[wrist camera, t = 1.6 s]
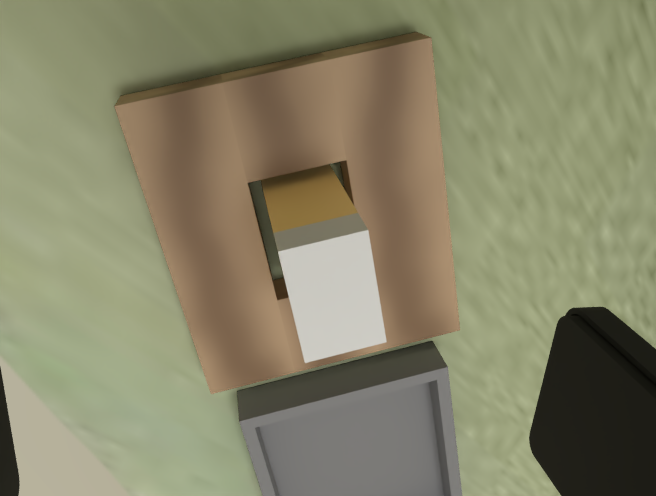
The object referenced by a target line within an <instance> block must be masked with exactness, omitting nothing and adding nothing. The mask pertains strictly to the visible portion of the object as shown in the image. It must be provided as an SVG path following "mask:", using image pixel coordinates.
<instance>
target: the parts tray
mask: <svg viewBox="0 0 656 496" xmlns="http://www.w3.org/2000/svg"><path fill="white" fill-rule="evenodd" d="M237 397H238V411H239V422H240V425H241V428H242V432H243V435H244V438H245V441H246V444H247V447H248V451H249V454H250V457H251V460H252V463H253V466H254V469H255V473H256V476H257V479H258V482H259V485H260V488H261V491H262V495H263V496H462V490H461V481H460V472H459V463H458V454H457V445H456V436H455V428H454V419H453V410H452V401H451V392H450V383H449V374H448V367H447V365H446V363H445V362H444V360H443V358H442V356H441V355H440V353H439V351H438V350H437V348H436V346H435V344H434V343H433V341H431V342H427V343H423V344H419V345H415V346H411V347H407V348H403V349H400V350H396V351H392V352H388V353H384V354H380V355H376V356H372V357H369V358H365V359H361V360H357V361H353V362H349V363H345V364H341V365H337V366H334V367H330V368H326V369H322V370H318V371H314V372H310V373H306V374H302V375H299V376H295V377H291V378H287V379H283V380H279V381H275V382H271V383H268V384H264V385H260V386H256V387H252V388H248V389H244V390H240V391H237Z"/></svg>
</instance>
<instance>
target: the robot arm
mask: <svg viewBox="0 0 656 496" xmlns="http://www.w3.org/2000/svg"><path fill="white" fill-rule="evenodd" d="M529 441H530V447H531V450H532V453H533V455H534V457H535V458H536V460H537V461H538V462H539V464H540V465H541V467H542V468H543V470H544V471H545V473H546V474H547V476H548V477H549V478H550V480H551V481H552V483H553V484H554V486H555V487H556V489H557V490H558V491H559V493H560V494H561V496H656V349H655V348H654V347H652V346H651V345H650V344H649V343H648V342H646V341H645V340H644V339H643V338H642V337H641V336H639V335H638V334H637V333H636V332H635V331H633V330H632V329H631V328H630V327H629V326H627V325H626V324H625V323H624V322H623V321H621V320H620V319H619V318H618V317H617V316H615V315H614V314H613V313H612V312H611V311H609V310H608V309H606V308H604V307H584V308H572V309H570V310H569V311H568V312H567V313H566V315H565V316H563V317H561V318H560V319H559V321H558V323H557V327H556V331H555V335H554V339H553V343H552V347H551V351H550V355H549V359H548V363H547V367H546V371H545V375H544V379H543V383H542V387H541V391H540V395H539V399H538V403H537V407H536V411H535V415H534V419H533V423H532V427H531V431H530V436H529ZM18 494H19V474H18V468H17V462H16V456H15V450H14V444H13V438H12V432H11V427H10V421H9V415H8V409H7V403H6V397H5V392H4V386H3V380H2V374H1V368H0V496H18Z"/></svg>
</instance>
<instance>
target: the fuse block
mask: <svg viewBox="0 0 656 496" xmlns="http://www.w3.org/2000/svg"><path fill="white" fill-rule="evenodd" d="M261 184H262V188H263V192H264V197H265V201H266V205H267V209H268V213H269V217H270V221H271V226H272V230H273V234H274V238H275V242H276V246H277V250H278V255H279V259H280V263H281V267H282V271H283V275H284V279H285V283H286V287H287V292H288V296H289V300H290V304H291V308H292V312H293V316H294V320H295V325H296V329H297V333H298V337H299V341H300V345H301V349H302V353H303V357H304V362H305V363H308V362H311V361H315V360H319V359H323V358H327V357H331V356H335V355H339V354H343V353H346V352H350V351H354V350H358V349H362V348H366V347H370V346H374V345H378V344H382V343H385V342H387V341H386V335H385V329H384V323H383V317H382V311H381V304H380V298H379V292H378V286H377V280H376V274H375V268H374V262H373V256H372V250H371V244H370V238H369V231H368V229H367V227H366V225H365V224H364V222H363V220H362V218H361V217H360V215H359V213H358V212H357V210H356V208H355V207H354V205H353V203H352V201H351V200H350V198H349V196H348V195H347V193H346V191H345V190H344V188H343V186H342V185H341V183H340V181H339V179H338V178H337V176H336V174H335V173H334V171H333V169H332V168H331V166H330V164H327V165H323V166H319V167H314V168H310V169H306V170H301V171H297V172H293V173H288V174H284V175H280V176H275V177H271V178H267V179H262V180H261Z"/></svg>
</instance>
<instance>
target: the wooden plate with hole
mask: <svg viewBox="0 0 656 496" xmlns="http://www.w3.org/2000/svg"><path fill="white" fill-rule="evenodd" d="M114 107H115V110H116V113H117V116H118V119H119V122H120V125H121V128H122V131H123V134H124V137H125V140H126V143H127V146H128V149H129V152H130V154H131V157H132V160H133V163H134V166H135V169H136V172H137V175H138V178H139V181H140V184H141V187H142V190H143V193H144V196H145V199H146V202H147V205H148V208H149V211H150V214H151V217H152V220H153V223H154V226H155V229H156V232H157V235H158V238H159V241H160V244H161V247H162V250H163V253H164V256H165V259H166V262H167V264H168V267H169V270H170V273H171V276H172V279H173V282H174V285H175V288H176V291H177V294H178V297H179V300H180V303H181V306H182V309H183V312H184V315H185V318H186V321H187V324H188V327H189V330H190V333H191V336H192V339H193V342H194V345H195V348H196V351H197V354H198V357H199V360H200V363H201V366H202V369H203V372H204V375H205V377H206V380H207V383H208V386H209V389H210V392H211V394H213V393H217V392H221V391H225V390H229V389H233V388H237V387H240V386H244V385H248V384H252V383H256V382H260V381H264V380H268V379H272V378H275V377H279V376H283V375H287V374H291V373H295V372H299V371H303V370H307V369H310V368H314V367H318V366H322V365H326V364H330V363H334V362H338V361H342V360H345V359H349V358H353V357H357V356H361V355H365V354H369V353H373V352H377V351H381V350H384V349H388V348H392V347H396V346H400V345H404V344H408V343H412V342H416V341H419V340H423V339H427V338H431V337H435V336H439V335H443V334H447V333H451V332H454V331H458V330H460V325H459V315H458V305H457V295H456V285H455V274H454V264H453V254H452V244H451V234H450V224H449V213H448V203H447V193H446V183H445V173H444V162H443V152H442V142H441V132H440V122H439V111H438V101H437V91H436V81H435V71H434V60H433V50H432V40H431V37H428V36H426V35H423V34H420V33H418V32H414V33H409V34H405V35H400V36H395V37H391V38H386V39H381V40H377V41H372V42H367V43H363V44H358V45H354V46H349V47H344V48H340V49H335V50H330V51H326V52H321V53H317V54H312V55H307V56H303V57H298V58H293V59H289V60H284V61H279V62H275V63H270V64H266V65H261V66H256V67H252V68H247V69H242V70H238V71H233V72H229V73H224V74H219V75H215V76H210V77H205V78H201V79H196V80H191V81H187V82H182V83H178V84H173V85H168V86H164V87H159V88H154V89H150V90H145V91H141V92H136V93H131V94H127V95H122V96H120V98H119V99H118V101H117V103H116V104H115V106H114ZM336 162H340V163H341V169H342V175H343V180H344V186H345V191H346V193H347V195H348V196H349V198H350V200H351V201H352V203H353V205H354V207H355V208H356V210H357V212H358V213H359V215H360V217H361V218H362V220H363V222H364V224H365V225H366V227H367V229H368V231H369V238H370V244H371V250H372V256H373V262H374V268H375V274H376V280H377V286H378V292H379V298H380V304H381V311H382V317H383V323H384V329H385V335H386V341H387V342H385V343H382V344H378V345H374V346H370V347H366V348H362V349H358V350H354V351H350V352H346V353H343V354H339V355H335V356H331V357H327V358H323V359H319V360H315V361H311V362H308V363H305V362H304V357H303V353H302V349H301V345H300V341H299V337H298V333H297V329H296V325H295V320H294V316H293V312H292V308H291V304H290V300H289V296H288V292H287V287H286V283H285V279H284V278H281V279H277V280H273V278H272V274H271V270H270V266H269V262H268V258H267V254H266V250H265V246H264V243H263V239H262V235H261V231H260V227H259V223H258V219H257V215H256V211H255V207H254V203H253V199H252V195H251V191H250V187H249V182H254V181H258V180H262V179H267V178H271V177H275V176H280V175H284V174H288V173H293V172H297V171H301V170H306V169H310V168H314V167H319V166H323V165H327V164H332V163H336Z"/></svg>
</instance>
